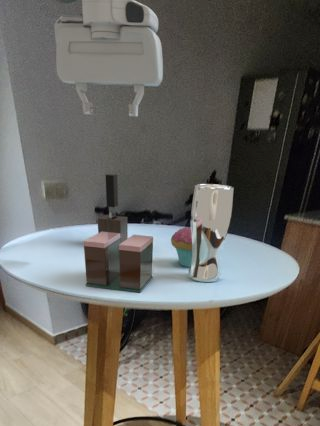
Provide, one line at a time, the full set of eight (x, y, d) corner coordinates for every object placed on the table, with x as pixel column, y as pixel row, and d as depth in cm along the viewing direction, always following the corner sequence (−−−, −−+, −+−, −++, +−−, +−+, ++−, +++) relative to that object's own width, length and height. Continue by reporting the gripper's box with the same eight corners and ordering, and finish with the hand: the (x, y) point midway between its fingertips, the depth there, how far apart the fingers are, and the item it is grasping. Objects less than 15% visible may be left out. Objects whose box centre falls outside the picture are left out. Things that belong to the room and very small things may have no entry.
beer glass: (197, 269, 74) (206, 182, 65) (228, 277, 71) (242, 187, 62) (178, 277, 69) (185, 184, 60) (210, 285, 66) (223, 189, 57)
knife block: (98, 247, 85) (97, 218, 82) (106, 242, 89) (105, 214, 86) (120, 249, 84) (120, 220, 81) (127, 244, 89) (127, 216, 85)
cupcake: (218, 267, 76) (227, 201, 69) (186, 272, 72) (192, 203, 65) (193, 257, 81) (198, 195, 74) (161, 261, 77) (164, 196, 70)
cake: (85, 286, 63) (82, 241, 59) (103, 272, 70) (101, 231, 65) (140, 292, 61) (140, 247, 57) (152, 278, 68) (154, 236, 64)
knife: (107, 246, 86) (104, 174, 77) (112, 243, 88) (109, 173, 80) (115, 247, 86) (112, 175, 77) (119, 244, 88) (117, 174, 79)
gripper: (45, 9, 63) (55, 111, 72) (159, 9, 60) (155, 116, 69) (60, 19, 68) (68, 113, 77) (167, 19, 65) (163, 118, 73)
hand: (110, 115), depth 73 cm, fingers open, 8 cm apart
